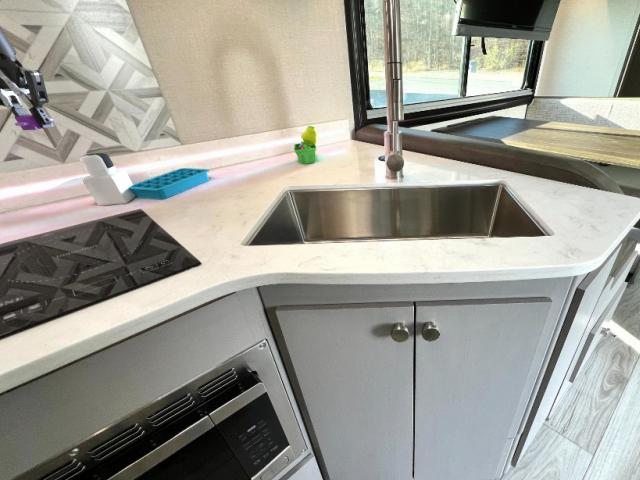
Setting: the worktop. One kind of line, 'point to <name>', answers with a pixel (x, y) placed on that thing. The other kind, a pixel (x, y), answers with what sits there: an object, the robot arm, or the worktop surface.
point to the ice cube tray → (170, 183)
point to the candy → (28, 122)
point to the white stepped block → (106, 180)
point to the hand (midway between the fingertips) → (39, 127)
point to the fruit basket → (307, 146)
